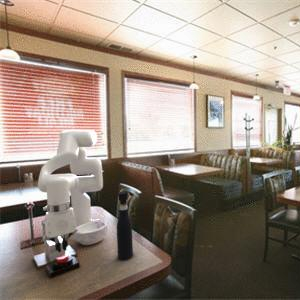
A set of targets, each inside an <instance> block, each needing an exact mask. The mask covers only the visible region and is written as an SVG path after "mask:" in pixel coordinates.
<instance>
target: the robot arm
mask: <svg viewBox="0 0 300 300" xmlns="http://www.w3.org/2000/svg"><path fill="white" fill-rule="evenodd" d="M97 142H98V135H97V133H96V131H95V130H94V129H65V130H61V131H60V132H59V139H58V146H57V149H56V154H55V155H54V156H52V157H51V158H50V159H48V160H47V161H46V162H45V163H44V164H43V165H42V167H41V169H40V172H39V176H38V180H37V188H38V190H39V191H40V192H41V193H46V201H47V203H46V206H43V207H42V210H43V212H45V211H46V212H45V217H44V235H43V238H42V240H43V242H44V241H52V242H54V243H55V249H56V250H57V251H58V252H61V243H60V242H59V239H58V236H60V237H61V236H63V237H62V239H63V240H62V247H63V250H66V247H68V246H69V243H68V241H69V239H70V238H71V237H72V235H74V233H76V232H77V229H76V228H77V227H79V226H81V225H83V224H86V223H91V222H101V219H100V218H94V219H92V207H91V197H90V196H89V195H88V194H87V193H92V192H100V191H102V190H103V187H104V177H103V165H102V161H101V159H100V158H98V157H87V156H88V155H87V149H86V148H91V147H94V146H95V145H96V143H97ZM68 165H69V168H70V172H71V173H56V174H54V171H56V170H58V169H60V168H63V167H65V166H68ZM52 173H53V174H52ZM77 175H79V176H77ZM80 175H81V176H80Z"/></svg>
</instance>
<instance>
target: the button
mask: <svg viewBox="0 0 300 300" xmlns="http://www.w3.org/2000/svg"><path fill="white" fill-rule="evenodd" d="M67 260H68V255H67V254H64V255H60V256H58V257H57V258H56V261H57V263H62V262H65V261H67Z"/></svg>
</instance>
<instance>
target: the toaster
mask: <svg viewBox="0 0 300 300" xmlns="http://www.w3.org/2000/svg"><path fill="white" fill-rule="evenodd" d="M58 239H59V242H60V243H61V252H58V251H57V250H56V249H55V243H54V242H52V241H44V240H43V242H44V253H46V255H47V257H48V258H49V260H50V261H53V260H55V259H56V258H57V257H58V256H60V255H64V254H65V250H63V247H62V240H63V237H61V236H58Z"/></svg>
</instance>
